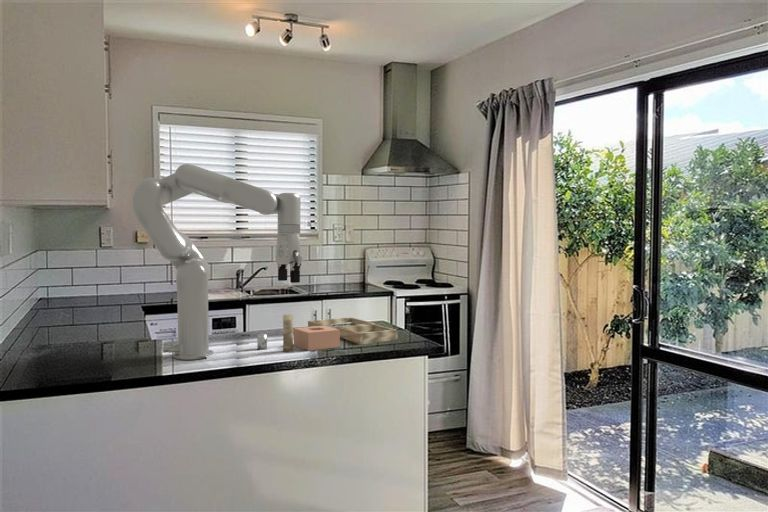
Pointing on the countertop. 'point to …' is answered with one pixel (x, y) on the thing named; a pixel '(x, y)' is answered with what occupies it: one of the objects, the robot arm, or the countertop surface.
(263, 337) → the short pin
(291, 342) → the long pin
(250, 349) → the countertop surface
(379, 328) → the organiser frame
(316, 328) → the hole block
